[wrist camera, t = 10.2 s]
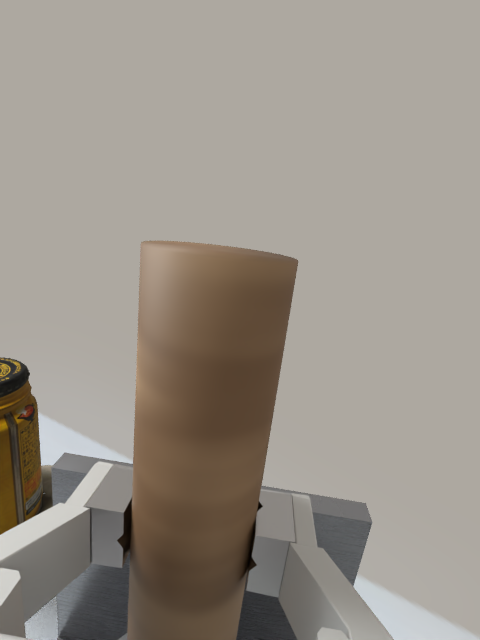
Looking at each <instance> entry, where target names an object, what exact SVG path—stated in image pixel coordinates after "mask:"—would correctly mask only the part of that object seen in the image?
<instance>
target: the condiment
mask: <svg viewBox="0 0 480 640" xmlns="http://www.w3.org/2000/svg"><path fill="white" fill-rule="evenodd" d="M29 375H30V373H29V371H28V369H27V367H26V366H25V365H24V364H23V363H21V362H19V361H17V360H14V359H10V358H0V535H1V534H3V533H4V532H6V531H8V530H10V529H12V528H14V527H16V526H18V525H19V524H21V523H23V522H25V521H27V520H29V519H31V518H32V517H34V516H36V515H38V514H40V513H42V512H44V511H46V510H47V509H49V508H51V507H53V496H52V473H51V467H52V466H51V465H45V466H41V457H40V441H39V425H38V409H37V402H36V399H35V397H34V396H32V394H31V386H30V384H29V381H28V378H29ZM43 493H45V494H43Z"/></svg>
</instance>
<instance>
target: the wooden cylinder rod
mask: <svg viewBox="0 0 480 640" xmlns="http://www.w3.org/2000/svg"><path fill="white" fill-rule="evenodd" d="M297 266H298V260H297V259H294V258H291V257H287V256H283V255H279V254H274V253H269V252H263V251H257V250H251V249H244V248H237V247H229V246H221V245H212V244H202V243H191V242H176V241H144V242H141V255H140V284H139V285H140V286H139V313H138V343H137V371H136V399H135V400H136V401H135V429H134V458H133V486H132V515H131V544H130V573H129V601H128V630H127V640H236V637H237V631H238V625H239V619H240V613H241V607H242V601H243V595H244V589H245V582H246V576H247V569H248V562H249V556H250V550H251V546H252V540H253V531H254V525H255V520H256V514H257V509H258V503H259V497H260V491H261V485H262V479H263V473H264V467H265V461H266V455H267V448H268V442H269V436H270V430H271V424H272V418H273V412H274V406H275V400H276V393H277V387H278V380H279V375H280V369H281V363H282V357H283V351H284V345H285V339H286V331H287V326H288V320H289V314H290V308H291V302H292V296H293V290H294V284H295V278H296V271H297Z"/></svg>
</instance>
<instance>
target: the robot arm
mask: <svg viewBox="0 0 480 640" xmlns="http://www.w3.org/2000/svg"><path fill="white" fill-rule="evenodd" d="M132 486H133V467H128V466H123V465H118V464H111V463H106V462H100V461H99V462H97V463H96V464H94V466H93V467H92V468H91V470H90V471H89V472H88V474H87V475H86V476H85V478H84V479H83V480H82V482H81V483H80V484H79V485H78V487H77V488H76V489H75V491H74V492H73V493H72V495H71V496H70V497H69V499H68V500H67V501H66V503H65V504H64V503H59V504H57V505H55V506H53V507H51V508H49V509H47V510H46V511H44V512H42V513H40V514H38V515H36V516H34V517H32V518H31V519H29V520H27V521H25V522H23V523H21V524H19V525H18V526H16V527H14V528H12V529H10V530H8V531H6V532H4V533H3V534H1V535H0V640H32V639H27V638H26V636H25V624H24V623H25V622H26V621H27V620H28V619H29V618H31V617H32V616H33V615H34V614H35V613H36V612H37V611H39V610H40V609H41V608H42V607H43V606H44V605H46V604H47V603H48V602H49V601H50V600H51V599H52V598H54V597H55V596H56V595H57V594H58V593H59V592H61V591H62V590H63V589H64V588H65V587H66V586H67V585H69V584H70V583H71V582H72V581H73V580H74V579H76V578H77V577H78V576H79V575H80V574H81V573H82V572H84V571H85V570H86V569H87V568H88V567H89V566H90V563H91V564H98V565H104V566H111V567H118V568H123V565H124V563H125V561H126V559H127V556H128V554H129V552H130V544H131V515H132ZM246 591H250V592H255V593H260V594H264V595H269V596H274V597H278V598H279V599H278V600H279V602H280V604H281V606H282V608H283V610H284V612H285V614H286V617H287V619H288V621H289V623H290V625H291V627H292V629H293V631H294V634H295V636H296V638H297V640H394V639H393V638H392V636H391V635H390V634H389V632H388V631H387V630H386V629H385V627H384V626H383V625H382V623H381V622H380V621H379V620H378V618H377V617H376V616H375V614H374V613H373V612H372V611H371V609H370V608H369V607H368V605H367V604H366V603H365V602H364V600H363V599H362V598H361V596H360V595H359V594H358V593H357V591H356V590H355V589H354V587H353V586H352V585H351V584H350V582H349V581H348V580H347V578H346V577H345V576H344V575H343V573H342V572H341V571H340V569H339V568H338V567H337V566H336V564H335V563H334V562H333V560H332V559H331V558H330V557H329V555H328V554H327V553H326V551H325V550H324V549H323V548H319V547H317V540H316V534H315V527H314V520H313V514H312V507H311V501H310V497H309V496H307V495H301V494H294V493H291V494H290V493H285V492H279V491H273V490H266V489H261V491H260V497H259V503H258V509H257V514H256V520H255V525H254V531H253V540H252V546H251V550H250V556H249V562H248V569H247V586H246Z"/></svg>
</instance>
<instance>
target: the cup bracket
mask: <svg viewBox="0 0 480 640" xmlns="http://www.w3.org/2000/svg"><path fill="white" fill-rule="evenodd" d="M99 461H100V462H106V463H111V464H118V465H123V466H128V467H133V464H129V463H123V462H117V461H111V460H105V459H99V458H93V457H87V456H81V455H75V454H69V453H64V454H63V455H62V456H61V457H60V458H59V460H58V461H57V462H56V463H55V464H54V465H53V466H52V467H51V473H52V496H53V506H55V505H57V504H59V503H64V504H65V503H66V501H67V500H68V499H69V497H70V496H71V495H72V493H73V492H74V491H75V489H76V488H77V487H78V485H79V484H80V483H81V482H82V480H83V479H84V478H85V476H86V475H87V474H88V472H89V471H90V470H91V468H92V467H93V466H94V464H96V463H97V462H99ZM261 489H266V490H273V491H279V492H285V493H290V494H291V493H294V494H301V495H307V496H309V497H310V501H311V507H312V514H313V520H314V527H315V534H316V540H317V547H319V548H323V549H324V550H325V551H326V553H327V554H328V555H329V557H330V558H331V559H332V560H333V562H334V563H335V564H336V566H337V567H338V568H339V569H340V571H341V572H342V573H343V575H344V576H345V577H346V578H347V580H348V581H349V582H350V584H351V585H352V586H353V585H354V582H355V579H356V575H357V572H358V569H359V565H360V562H361V559H362V555H363V552H364V548H365V545H366V541H367V538H368V535H369V532H370V528H371V525H372V520H371V517H370V514H369V512H368V509H367V506H366V503H361V502H355V501H349V500H343V499H337V498H331V497H325V496H319V495H313V494H307V493H301V492H295V491H289V490H283V489H278V488H271V487H266V486H261ZM129 573H130V552H129V554H128V556H127V559H126V561H125V563H124V565H123V568H118V567H111V566H104V565H98V564H91V563H90V566H89V567H88V568H87V569H86V570H85V571H84V572H82V573H81V574H80V575H79V576H78V577H77V578H76V579H74V580H73V581H72V582H71V583H70V584H69V585H67V586H66V587H65V588H64V589H63V590H62V591H61V592H59V593H58V594H57V612H58V635H59V636H58V638H57V640H127V630H128V601H129ZM246 586H247V576H246V582H245V589H244V595H243V601H242V607H241V613H240V619H239V625H238V631H237V637H236V640H297V638H296V636H295V634H294V631H293V629H292V627H291V625H290V623H289V621H288V619H287V617H286V614H285V612H284V610H283V608H282V606H281V604H280V602H279V600H278V599H279V598H278V597H274V596H269V595H264V594H260V593H255V592H250V591H246Z"/></svg>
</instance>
